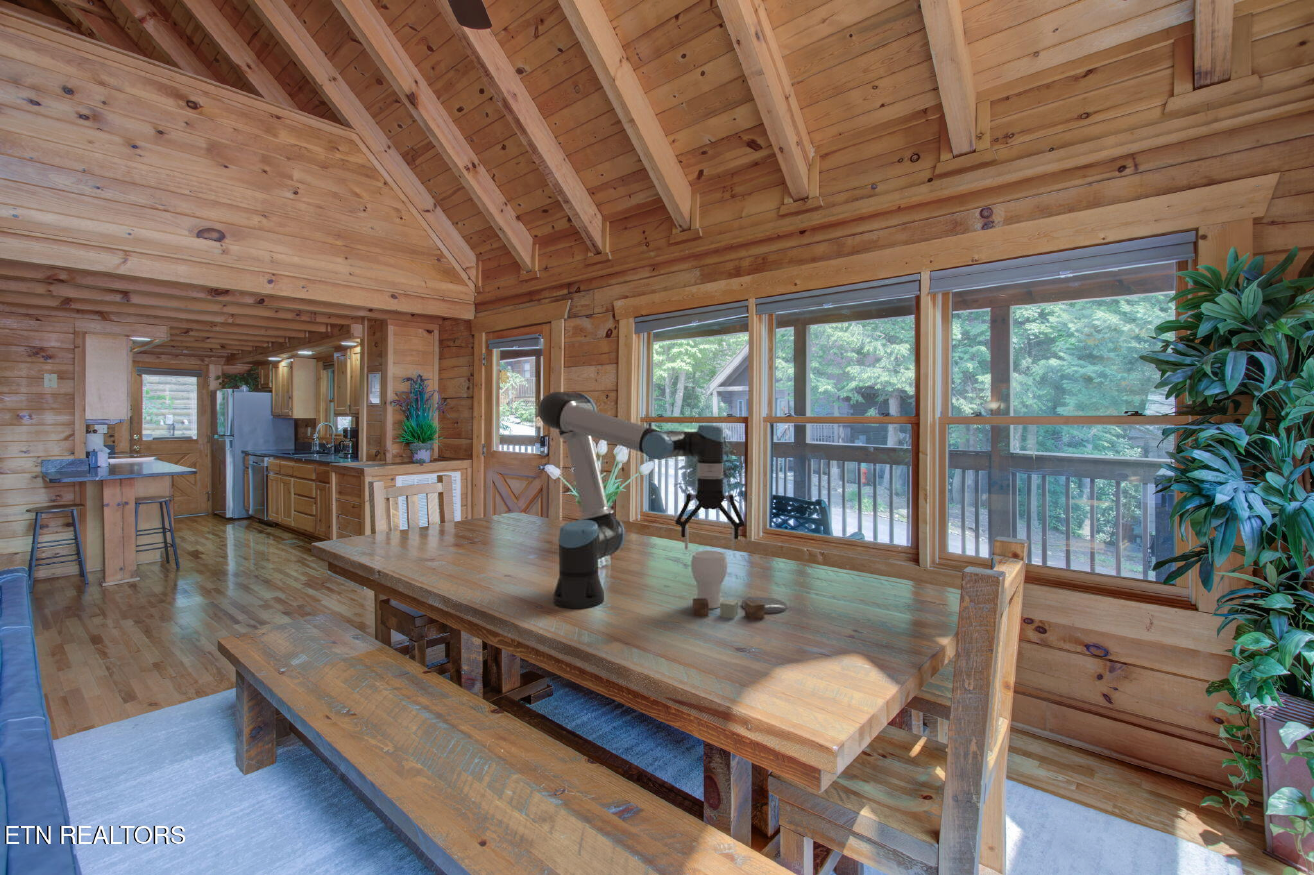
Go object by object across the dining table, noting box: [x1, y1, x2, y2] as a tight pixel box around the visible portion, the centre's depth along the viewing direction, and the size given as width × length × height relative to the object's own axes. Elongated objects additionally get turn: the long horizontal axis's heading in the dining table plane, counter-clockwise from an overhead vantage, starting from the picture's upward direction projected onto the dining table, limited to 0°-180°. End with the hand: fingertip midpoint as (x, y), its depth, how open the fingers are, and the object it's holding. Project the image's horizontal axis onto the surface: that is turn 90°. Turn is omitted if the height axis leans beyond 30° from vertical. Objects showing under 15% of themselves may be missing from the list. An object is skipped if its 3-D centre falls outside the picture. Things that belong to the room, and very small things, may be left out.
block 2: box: [719, 598, 739, 620], centre depth 163 cm, size 4×4×4 cm
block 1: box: [692, 597, 710, 618], centre depth 164 cm, size 4×4×4 cm
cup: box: [690, 550, 728, 609], centre depth 173 cm, size 11×11×15 cm
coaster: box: [740, 596, 787, 615], centre depth 171 cm, size 13×13×1 cm
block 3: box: [744, 600, 766, 621], centre depth 162 cm, size 4×4×4 cm
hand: (709, 549), depth 173 cm, fingers open, 13 cm apart
